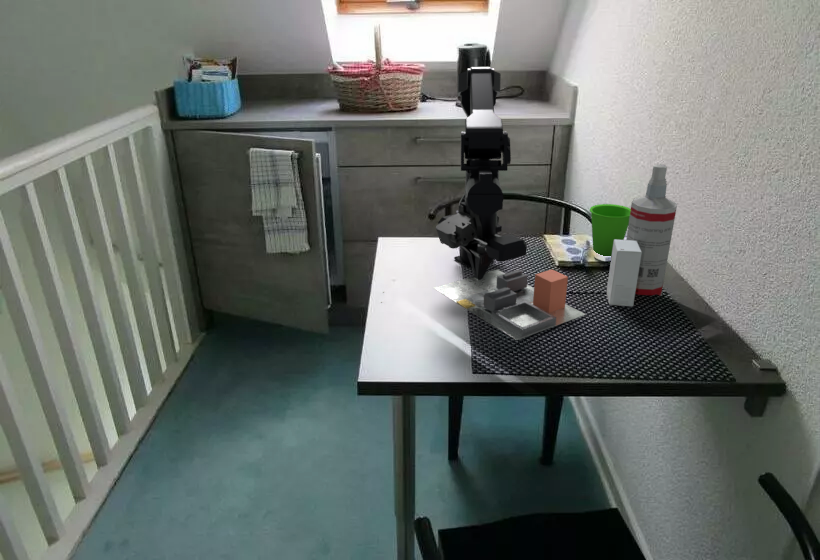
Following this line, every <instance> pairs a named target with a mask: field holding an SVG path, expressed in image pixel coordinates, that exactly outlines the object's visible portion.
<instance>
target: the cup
mask: <svg viewBox="0 0 820 560" xmlns="http://www.w3.org/2000/svg"><path fill="white" fill-rule="evenodd" d="M630 211H631V207H630V208H629V207H628V206H624V205H620V204H613V203H603V204H601V203H600V204H595V205H593V206H591V207H590V208H589V212H590V214H591V215H590V216H591V217H590V218H591V233H592V234H591V235H592V236H591V238H592V251H593V250H594V251H595V252H596V253H598V254H600V255H603V256H612V250H613V242H614V239H617V240H625V237H626V236H627V232H628V225H629V218H630Z"/></svg>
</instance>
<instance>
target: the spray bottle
mask: <svg viewBox="0 0 820 560" xmlns="http://www.w3.org/2000/svg"><path fill="white" fill-rule="evenodd" d="M667 170H668V166H667V165H666V164H661V163H660V164H655V165H653V167H652V171H651V172H652V174H651V177H650V178H649V181H648V182H647V187H646V192H645V195H643V196H640V197H635V198H633V199H632V200H631V205H630V209H631V211H630V218H629V225H628V228H627V231H626V239H625V240H633V241H637V243H638V245H639V247H640V249H641V252H642V254H641V260H640V266H639V272H638V279H637V285H636V291H635V295H638V296H639V295H640V296H655V295H658V296H660V297H662V293H663V287H664V282H665V276H666V270H667V264H668V258H669V254H670V253H669V252H670V248H671V242H672V236H673V230H674V226H675V225H674V224H675V220H676V219H675V218H676V214H677V207H678V203H677V202H676V201H673V200H671V199H669V198H667V195H666V194H667V186H668V184H667V182H668V181H667V178H666V177H667V176H666V175H667Z"/></svg>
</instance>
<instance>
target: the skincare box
mask: <svg viewBox="0 0 820 560" xmlns="http://www.w3.org/2000/svg"><path fill="white" fill-rule="evenodd" d="M641 254H642V252H641V249H640V247H639V245H638V243H637V241H633V240H626V239H624V240H617V239H614V242H613V250H612V256H611V262H609V263H610V264H609V265H610V266H609V273H608V279H607V287H606V297H607V301H608V304H609V305H610V306H622V307H625V306H626V307H634V303H635V296H636V294H635V291H636V285H637V279H638V272H639V266H640V260H641Z"/></svg>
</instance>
